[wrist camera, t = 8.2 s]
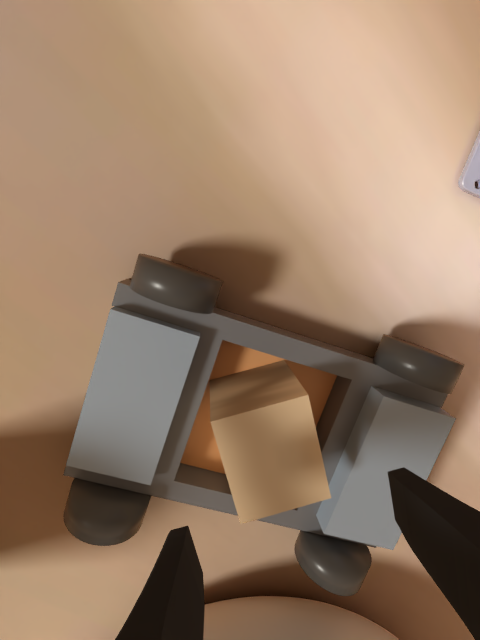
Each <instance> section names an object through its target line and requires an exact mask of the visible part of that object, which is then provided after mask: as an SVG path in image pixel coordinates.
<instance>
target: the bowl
mask: <svg viewBox="0 0 480 640" xmlns="http://www.w3.org/2000/svg"><path fill="white" fill-rule="evenodd" d="M203 640H400V639H398V638H397V637H396V636H394V635H393V634H392V633H390V632H389V631H387V630H386V629H384V628H383V627H381V626H380V625H378V624H376V623H374V622H372V621H371V620H369V619H367V618H365V617H363V616H361V615H359V614H356V613H354V612H352V611H349V610H346V609H344V608H341V607H338V606H335V605H331V604H328V603H324V602H320V601H315V600H309V599H303V598H295V597H283V596H256V597H244V598H235V599H229V600H223V601H218V602H214V603H209V604H206V605H205V612H204V634H203Z"/></svg>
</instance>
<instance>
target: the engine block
mask: <svg viewBox="0 0 480 640" xmlns="http://www.w3.org/2000/svg"><path fill="white" fill-rule="evenodd" d="M209 384H210V422H211V426H212V429H213V432H214V436H215V439H216V443H217V446H218V449H219V453H220V456H221V460H222V463H223V466H224V470H225V473H226V477H227V480H228V483H229V487H230V490H231V494H232V497H233V500H234V504H235V507H236V510H237V514H238V517H239V521H240V524H243V523H247V522H250V521H254V520H257V519H261V518H264V517H267V516H271V515H274V514H278V513H281V512H285V511H288V510H292V509H295V508H299V507H302V506H306V505H309V504H312V503H316V502H319V501H323V500H326V499H330V498H331V495H330V490H329V486H328V481H327V477H326V472H325V468H324V463H323V459H322V454H321V450H320V445H319V441H318V436H317V432H316V427H315V423H314V418H313V414H312V409H311V405H310V400H309V396H308V394H307V392H306V391H305V389H304V388H303V386H302V385H301V383H300V382H299V381H298V379H297V378H296V376H295V375H294V373H293V372H292V371H291V369H290V368H289V366H288V365H287V363H286V362H285V360H282V361H278V362H275V363H271V364H267V365H264V366H260V367H256V368H253V369H249V370H245V371H241V372H238V373H234V374H230V375H227V376H223V377H219V378H216V379H212V380H209Z"/></svg>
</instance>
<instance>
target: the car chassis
mask: <svg viewBox="0 0 480 640" xmlns="http://www.w3.org/2000/svg"><path fill="white" fill-rule="evenodd" d="M222 283H223V282H222V281H221V280H219V279H217V278H215V277H213V276H211V275H208V274H206V273H203V272H200V271H198V270H195V269H192V268H189V267H186V266H183V265H180V264H177V263H174V262H171V261H168V260H164V259H161V258H157V257H154V256H150V255H145V254H139V255H138V259H137V262H136V266H135V269H134V273H133V276H132V279H131V280H130V279H125V280H123V281H120V282H118V285H117V289H116V292H115V296H114V299H113V303H112V306H115V307H113V308H111V309H110V313H109V316H108V320H107V323H106V327H105V330H104V334H103V337H102V341H101V344H100V348H99V351H98V355H97V358H96V362H95V365H94V369H93V372H92V376H91V379H90V383H89V386H88V390H87V393H86V397H85V400H84V404H83V407H82V411H81V414H80V418H79V421H78V425H77V428H76V432H75V435H74V439H73V442H72V446H71V449H70V453H69V456H68V460H67V463H66V468H65V471H64V475H65V476H69V477H74V478H75V479H74V480H73V483H72V486H71V489H70V493H69V496H68V499H67V503H66V506H65V510H64V522H65V525H66V527H67V529H68V530H69V531H70V533H71V534H72V535H73V536H75V537H76V538H78V539H79V540H81V541H83V542H86V543H88V544H92V545H98V546H109V545H115V544H119V543H122V542H124V541H126V540H128V539H130V538H131V537H132V536H134V535H135V534H136V533H137V531H138V530H139V529H140V527H141V524H142V521H143V518H144V515H145V512H146V509H147V506H148V503H149V500H150V497H151V496H155V497H160V498H164V499H168V500H173V501H177V502H181V503H186V504H190V505H194V506H199V507H203V508H207V509H212V510H216V511H220V512H224V513H229V514H233V515H237V516H238V514H237V510H236V507H235V504H234V500H233V497H232V494H231V490H230V487H229V483H228V480H227V477H226V473H225V470H224V466H223V463H222V460H221V456H220V453H219V449H218V446H217V443H216V439H215V436H214V432H213V429H212V426H211V422H210V384H209V380H212V379H216V378H219V377H223V376H227V375H230V374H234V373H238V372H241V371H245V370H249V369H253V368H256V367H260V366H264V365H267V364H271V363H275V362H278V361H282V360H285V362H286V363H287V365H288V366H289V368H290V369H291V371H292V372H293V373H294V375H295V376H296V378H297V379H298V381H299V382H300V383H301V385H302V386H303V388H304V389H305V391H306V392H307V394H308V396H309V400H310V405H311V409H312V414H313V418H314V423H315V427H316V432H317V436H318V441H319V445H320V450H321V454H322V459H323V463H324V468H325V472H326V477H327V481H328V486H329V490H330V495H331V498H330V499H326V500H323V501H319V502H316V503H312V504H309V505H306V506H302V507H299V508H295V509H292V510H288V511H285V512H281V513H278V514H274V515H271V516H267V517H264V518H261V519H257V520H259V521H263V522H268V523H272V524H276V525H280V526H285V527H289V528H293V529H298V530H301V531H300V533H299V536H298V538H297V540H296V543H295V554H296V558H297V560H298V562H299V564H300V566H301V567H302V569H303V570H304V572H305V573H306V574H307V575H308V576H309V577H310V578H311V579H312V580H313V581H314V582H315V583H316V584H318V585H319V586H320V587H322V588H324V589H325V590H327V591H329V592H331V593H334V594H337V595H341V596H350V595H354V594H355V593H357V592H358V591H359V589H360V587H361V585H362V583H363V580H364V578H365V576H366V574H367V572H368V570H369V568H370V566H371V554H370V551H369V549H368V547H367V546H371V547H375V548H376V546H378V547H382V548H387V549H391V550H393V549H394V547H395V545H396V543H397V541H398V539H399V537H400V535H401V533H402V532H401V530H400V528H399V526H398V524H397V523H396V521H395V517H394V510H393V504H392V497H391V491H390V485H389V478H388V471H392V470H396V469H399V468H403V467H404V468H406V469H408V470H409V471H411V472H413V473H414V474H416V475H418V476H419V477H421V478H422V479H424V480H427V478H428V476H429V474H430V472H431V470H432V468H433V466H434V464H435V461H436V459H437V457H438V455H439V453H440V451H441V449H442V447H443V445H444V443H445V440H446V438H447V436H448V434H449V432H450V430H451V428H452V426H453V424H454V422H455V420H456V418H454V417H453V416H452V415H450V414H449V413H447V412H446V411H444V410H443V409H441V408H440V407H442V405H443V403H444V401H445V399H446V397H447V395H448V394H451V393H452V391H453V389H454V387H455V385H456V382H457V380H458V378H459V376H460V374H461V372H462V370H463V367H464V364H462V363H460V362H458V361H456V360H454V359H452V358H449V357H447V356H444V355H442V354H440V353H437V352H435V351H432V350H430V349H427V348H424V347H422V346H419V345H416V344H414V343H411V342H408V341H405V340H402V339H399V338H396V337H393V336H390V335H385V334H383V337H382V339H381V342H380V344H379V346H378V349H377V351H376V353H375V356H374V358H370V357H367V356H364V355H361V354H358V353H355V352H352V351H349V350H346V349H343V348H339V347H336V346H333V345H330V344H327V343H324V342H321V341H318V340H315V339H312V338H309V337H306V336H302V335H299V334H296V333H293V332H290V331H287V330H284V329H281V328H278V327H275V326H272V325H268V324H265V323H262V322H259V321H256V320H253V319H250V318H247V317H244V316H241V315H238V314H235V313H231V312H228V311H225V310H222V309H219V308H216V307H214V306H215V303H216V300H217V297H218V294H219V291H220V289H221V286H222ZM366 545H367V546H366Z"/></svg>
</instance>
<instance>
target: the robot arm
mask: <svg viewBox="0 0 480 640" xmlns="http://www.w3.org/2000/svg"><path fill="white" fill-rule="evenodd" d="M476 181H477V182H478V188H477V189H476V188H475V182H476ZM458 184H459V188H460V189H461V190H462V191H464V192H466V193H469V194H471V195H473V196H476V197H478V198H480V131H479V134H478V136H477V138H476V141H475V143H474V145H473V148H472V150H471V152H470V155H469V157H468V159H467V162H466V164H465V166H464V169H463V171H462V174H461V176H460V178H459V182H458ZM388 478H389V485H390V491H391V497H392V504H393V510H394V517H395V521H396V523H397V524H398V526H399V528H400V530H401V532H402V533H403V535H404V537H405V539H406V540H407V542H408V544H409V546H410V547H411V549H412V551H413V552H414V553H415V555H416V556H417V558H418V559H419V560H420V562H421V563H422V565H423V566H424V568H425V569H426V570H427V572H428V573H429V575H430V576H431V577H432V579H433V580H434V581H435V583H436V584H437V586H438V587H439V588H440V590H441V591H442V593H443V594H444V595H445V597H446V598H447V600H448V601H449V602H450V604H451V605H452V606H453V608H454V609H455V611H456V612H457V613H458V615H459V616H460V618H461V619H462V620H463V622H464V623H465V625H466V626H467V628H468V629H469V631H470V632H471V634H472V635H473V637H474V639H475V640H480V511H478V510H476V509H474V508H472V507H470V506H468V505H467V504H465V503H463V502H461V501H459V500H458V499H456V498H454V497H452V496H451V495H449V494H447V493H446V492H444V491H442V490H440V489H439V488H437V487H436V486H434V485H432V484H431V483H429V482H427V481H426V480H424V479H422V478H421V477H419V476H418V475H416V474H414V473H413V472H411V471H409V470H408V469H406V468H404V467H403V468H399V469H396V470H392V471H388ZM204 612H205V605H204V584H203V572H202V569H201V566H200V562H199V559H198V556H197V553H196V550H195V546H194V543H193V540H192V537H191V534H190V530H189V527H188V526H185V527H181V528H178V529H174V530H171V531H170V532H169V534H168V536H167V539H166V541H165V543H164V545H163V548H162V550H161V552H160V555H159V557H158V559H157V561H156V563H155V566H154V568H153V570H152V572H151V574H150V576H149V578H148V580H147V582H146V584H145V586H144V588H143V590H142V592H141V594H140V596H139V598H138V600H137V602H136V604H135V606H134V607H133V609H132V611H131V613H130V615H129V617H128V618H127V620H126V622H125V624H124V626H123V627H122V629H121V631H120V632H119V634H118V636H117V637H116V639H115V640H203V634H204Z"/></svg>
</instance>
